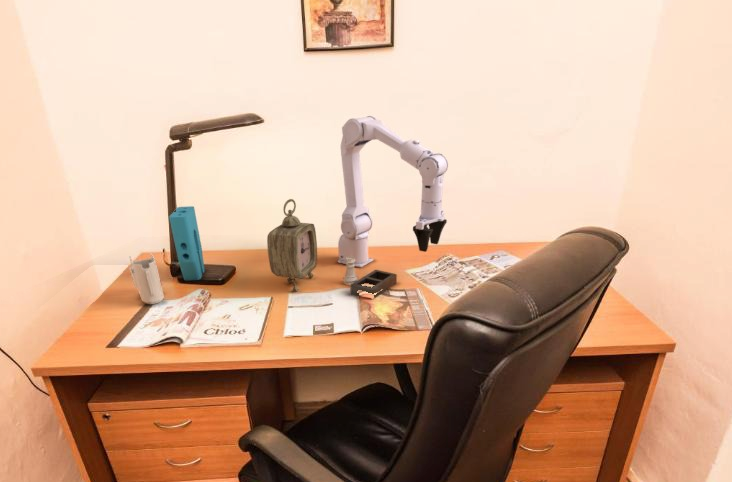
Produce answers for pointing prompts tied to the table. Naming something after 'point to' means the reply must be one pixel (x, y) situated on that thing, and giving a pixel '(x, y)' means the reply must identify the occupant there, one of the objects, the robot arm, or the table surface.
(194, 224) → the block
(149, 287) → the cable organizer
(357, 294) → the rack
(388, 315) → the table surface
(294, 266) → the tabletop clock
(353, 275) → the rook chess piece
